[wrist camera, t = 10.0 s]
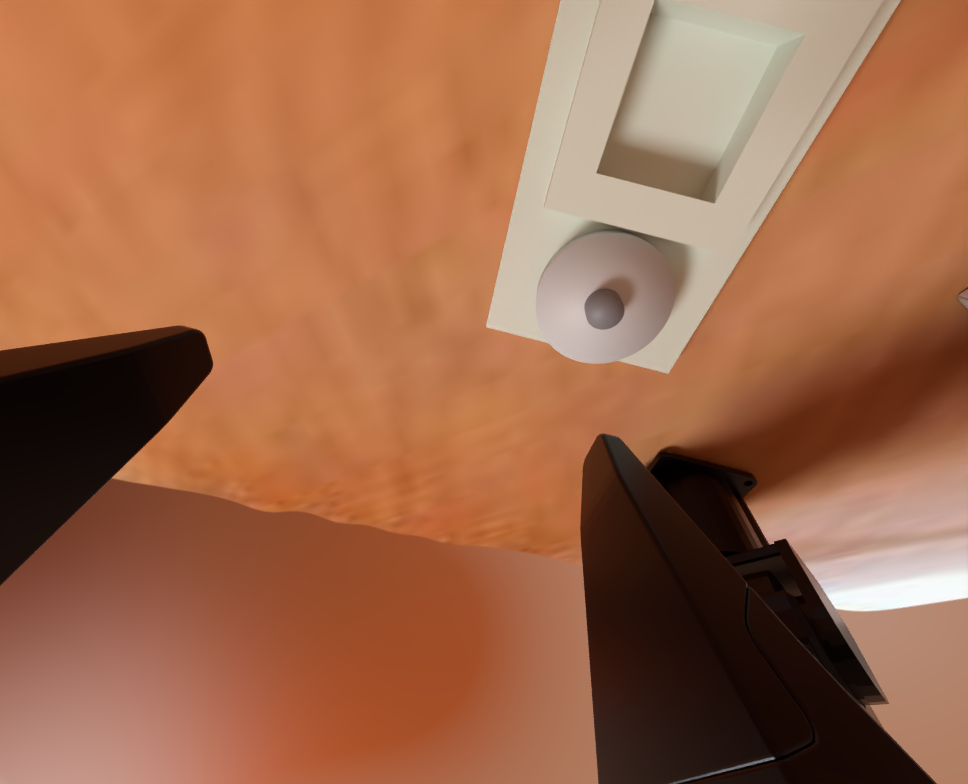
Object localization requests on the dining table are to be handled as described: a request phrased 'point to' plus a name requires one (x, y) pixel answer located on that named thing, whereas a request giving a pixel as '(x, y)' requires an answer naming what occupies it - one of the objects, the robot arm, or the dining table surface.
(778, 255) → the dining table surface
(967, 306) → the coffee box
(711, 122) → the block
